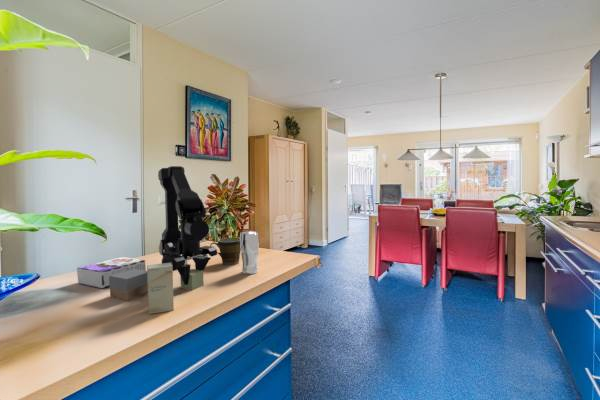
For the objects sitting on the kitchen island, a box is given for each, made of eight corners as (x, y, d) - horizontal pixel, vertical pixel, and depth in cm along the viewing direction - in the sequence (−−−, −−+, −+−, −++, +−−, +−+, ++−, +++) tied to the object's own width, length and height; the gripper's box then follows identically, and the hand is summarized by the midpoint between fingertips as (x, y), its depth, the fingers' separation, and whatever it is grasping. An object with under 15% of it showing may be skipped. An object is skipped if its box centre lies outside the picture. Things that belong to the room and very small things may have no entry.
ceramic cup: (241, 259, 136) (240, 236, 135) (244, 265, 126) (243, 240, 126) (210, 262, 132) (209, 239, 131) (211, 268, 123) (210, 243, 122)
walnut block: (134, 290, 101) (134, 279, 100) (151, 293, 97) (151, 282, 97) (110, 298, 93) (109, 287, 93) (127, 302, 90) (127, 291, 90)
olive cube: (192, 283, 105) (191, 268, 105) (203, 285, 103) (203, 270, 102) (180, 288, 100) (180, 272, 100) (192, 290, 98) (191, 274, 98)
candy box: (76, 267, 106) (121, 256, 121) (77, 284, 106) (122, 270, 121) (101, 271, 100) (146, 259, 115) (102, 289, 101) (146, 274, 115)
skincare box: (148, 315, 80) (146, 269, 80) (148, 308, 84) (146, 264, 83) (174, 310, 83) (172, 265, 82) (173, 304, 87) (171, 261, 86)
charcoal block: (133, 279, 100) (133, 268, 100) (151, 282, 97) (150, 271, 97) (109, 287, 93) (109, 275, 93) (127, 290, 90) (126, 279, 89)
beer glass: (263, 270, 118) (262, 231, 117) (251, 275, 112) (249, 234, 111) (249, 268, 122) (248, 230, 121) (236, 273, 116) (235, 233, 115)
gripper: (193, 229, 112) (195, 271, 113) (148, 238, 96) (150, 287, 97) (217, 230, 107) (218, 275, 108) (173, 240, 91) (176, 292, 92)
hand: (192, 282), depth 101 cm, fingers closed on olive cube, 5 cm apart
